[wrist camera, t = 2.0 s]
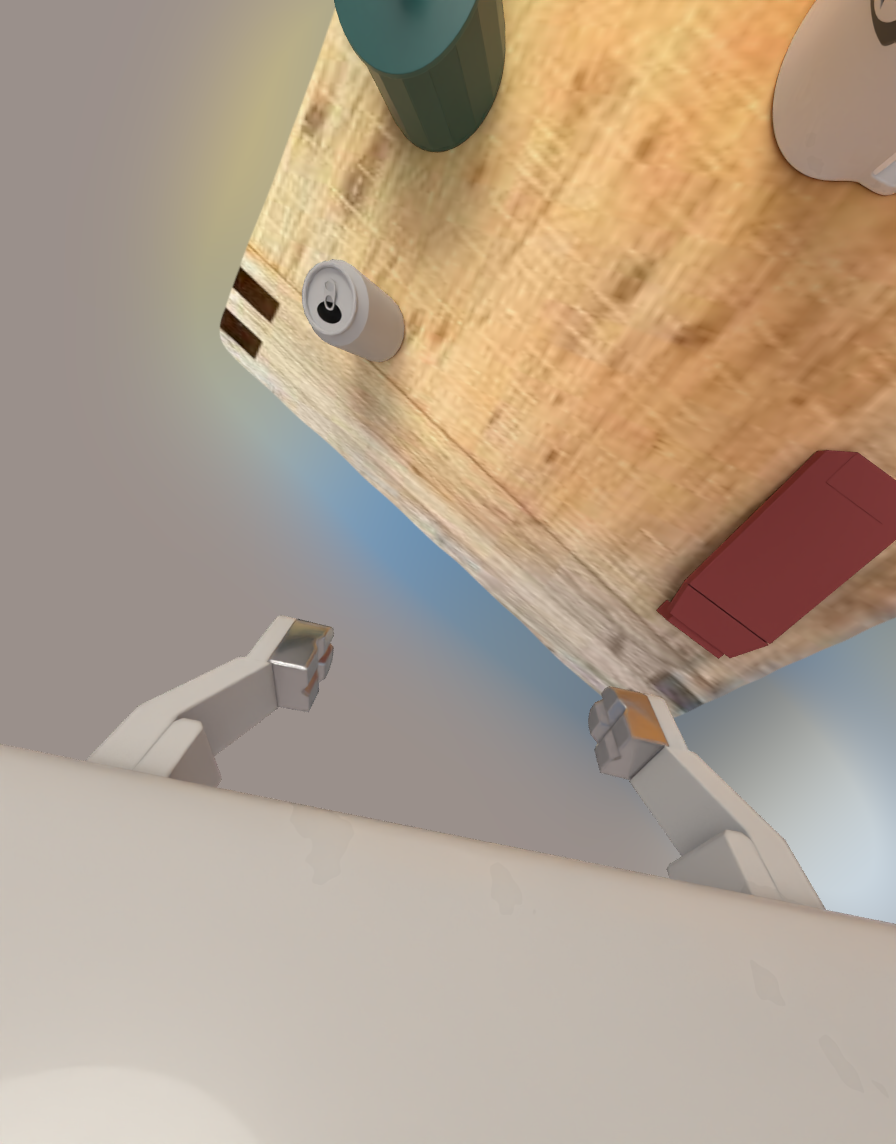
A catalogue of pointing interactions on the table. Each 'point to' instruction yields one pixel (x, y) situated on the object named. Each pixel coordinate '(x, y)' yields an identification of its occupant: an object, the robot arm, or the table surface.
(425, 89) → the pot
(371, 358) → the can
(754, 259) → the table surface
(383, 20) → the pot lid
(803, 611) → the dark red sloped ramp
